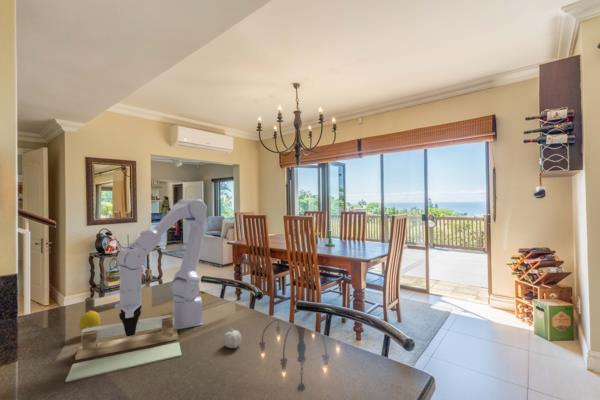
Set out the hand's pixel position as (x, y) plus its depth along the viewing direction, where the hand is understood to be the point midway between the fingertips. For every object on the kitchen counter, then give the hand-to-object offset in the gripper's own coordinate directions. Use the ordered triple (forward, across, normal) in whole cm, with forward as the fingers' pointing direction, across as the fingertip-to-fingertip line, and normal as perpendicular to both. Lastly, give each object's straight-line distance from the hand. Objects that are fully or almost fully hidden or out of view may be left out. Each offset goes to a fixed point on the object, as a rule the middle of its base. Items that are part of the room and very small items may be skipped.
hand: (130, 333), depth 89 cm
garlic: (+4, +15, +27) cm, 31 cm away
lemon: (+4, -13, -12) cm, 18 cm away
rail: (-1, 0, 0) cm, 1 cm away
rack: (+3, 0, 0) cm, 3 cm away
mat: (+3, +10, 0) cm, 11 cm away
